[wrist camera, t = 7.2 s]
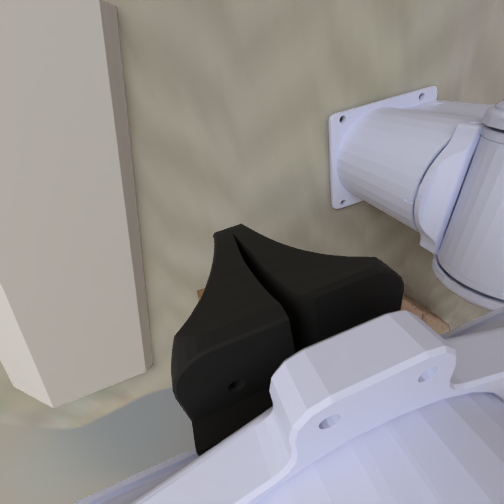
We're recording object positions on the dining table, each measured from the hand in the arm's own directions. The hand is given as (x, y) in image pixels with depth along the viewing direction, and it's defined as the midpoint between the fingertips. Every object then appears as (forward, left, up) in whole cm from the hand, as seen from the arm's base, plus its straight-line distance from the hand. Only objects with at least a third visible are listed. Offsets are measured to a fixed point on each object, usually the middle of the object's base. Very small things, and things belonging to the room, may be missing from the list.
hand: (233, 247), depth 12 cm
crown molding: (+12, +2, -11) cm, 16 cm away
